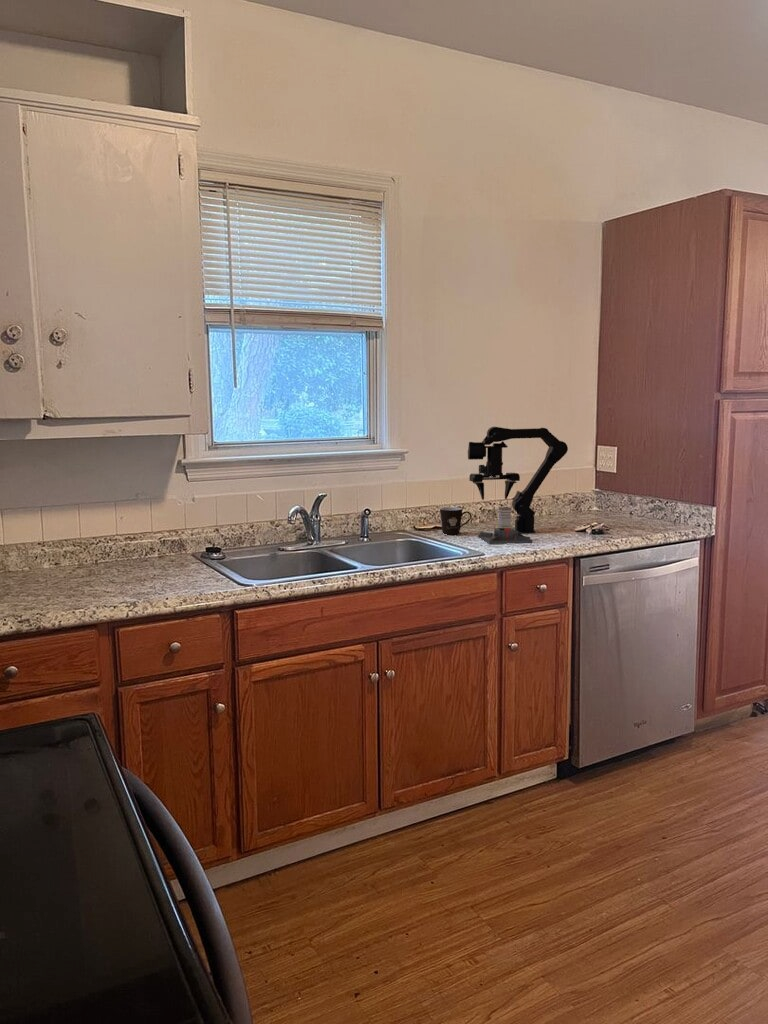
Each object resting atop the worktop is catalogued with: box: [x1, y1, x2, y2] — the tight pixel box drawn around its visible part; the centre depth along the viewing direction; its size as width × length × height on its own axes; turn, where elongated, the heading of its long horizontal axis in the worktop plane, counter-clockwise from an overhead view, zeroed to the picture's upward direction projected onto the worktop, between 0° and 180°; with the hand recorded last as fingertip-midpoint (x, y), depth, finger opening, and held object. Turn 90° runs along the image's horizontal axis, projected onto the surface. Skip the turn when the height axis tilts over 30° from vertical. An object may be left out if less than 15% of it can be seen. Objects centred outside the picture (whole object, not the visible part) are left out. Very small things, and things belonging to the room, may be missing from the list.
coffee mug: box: [439, 506, 473, 536], centre depth 300 cm, size 12×9×10 cm
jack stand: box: [477, 527, 533, 545], centre depth 288 cm, size 16×16×5 cm
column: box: [497, 506, 512, 528], centre depth 287 cm, size 4×4×7 cm
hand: (494, 499), depth 303 cm, fingers open, 9 cm apart
